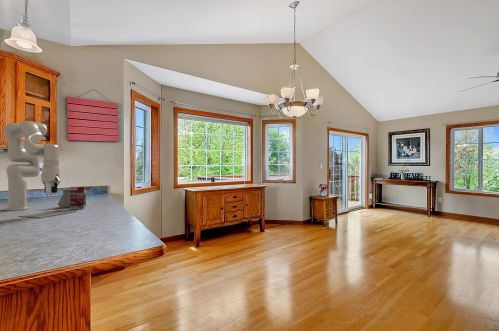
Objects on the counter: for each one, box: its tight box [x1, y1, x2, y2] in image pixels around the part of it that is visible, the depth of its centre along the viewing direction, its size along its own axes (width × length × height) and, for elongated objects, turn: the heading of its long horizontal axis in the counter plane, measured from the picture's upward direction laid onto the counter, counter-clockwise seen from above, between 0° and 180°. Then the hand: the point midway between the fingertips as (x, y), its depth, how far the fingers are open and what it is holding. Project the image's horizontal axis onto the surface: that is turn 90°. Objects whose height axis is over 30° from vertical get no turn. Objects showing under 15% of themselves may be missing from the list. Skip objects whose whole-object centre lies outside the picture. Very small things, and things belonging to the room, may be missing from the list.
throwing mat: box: [17, 209, 77, 219], centre depth 155 cm, size 18×22×1 cm
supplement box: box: [69, 186, 87, 211], centre depth 174 cm, size 9×5×16 cm, turn 105°
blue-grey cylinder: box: [45, 182, 57, 196], centre depth 154 cm, size 5×5×8 cm
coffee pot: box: [57, 186, 93, 209], centre depth 184 cm, size 21×12×15 cm, turn 123°
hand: (50, 192), depth 154 cm, fingers closed on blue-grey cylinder, 4 cm apart
